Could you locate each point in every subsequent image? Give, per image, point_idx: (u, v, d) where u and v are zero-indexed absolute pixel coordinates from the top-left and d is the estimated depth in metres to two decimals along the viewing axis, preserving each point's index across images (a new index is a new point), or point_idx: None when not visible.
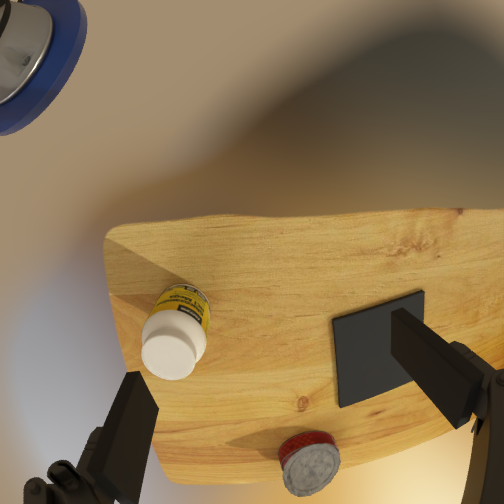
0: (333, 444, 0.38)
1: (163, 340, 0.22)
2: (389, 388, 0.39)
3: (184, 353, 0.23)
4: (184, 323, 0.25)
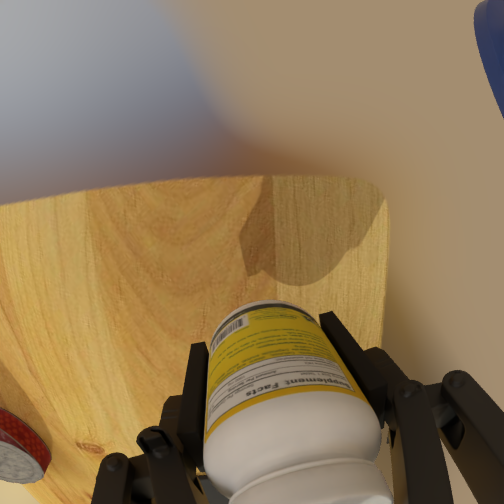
0: (43, 475, 0.19)
1: None
2: None
3: None
4: None
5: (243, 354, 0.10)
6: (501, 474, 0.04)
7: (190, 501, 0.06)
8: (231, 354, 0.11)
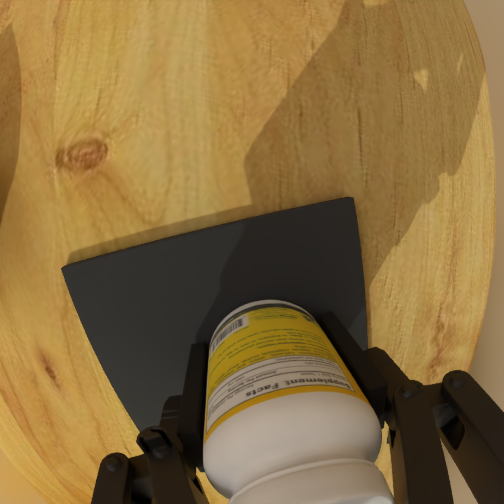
0: None
1: None
2: (121, 391, 0.16)
3: None
4: None
5: (243, 354, 0.10)
6: (501, 474, 0.04)
7: (190, 501, 0.06)
8: (231, 354, 0.11)
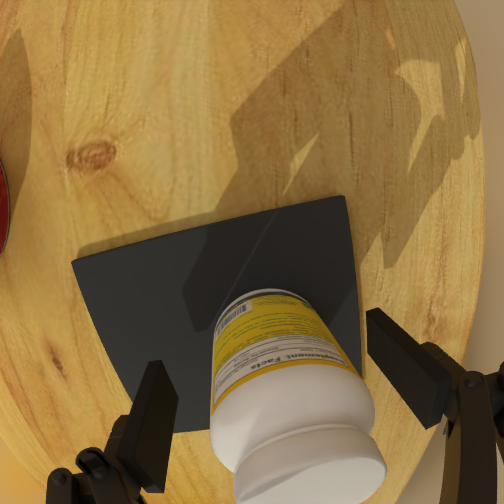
0: None
1: (371, 485, 0.06)
2: (126, 380, 0.17)
3: None
4: None
5: (248, 334, 0.11)
6: None
7: None
8: (236, 335, 0.12)
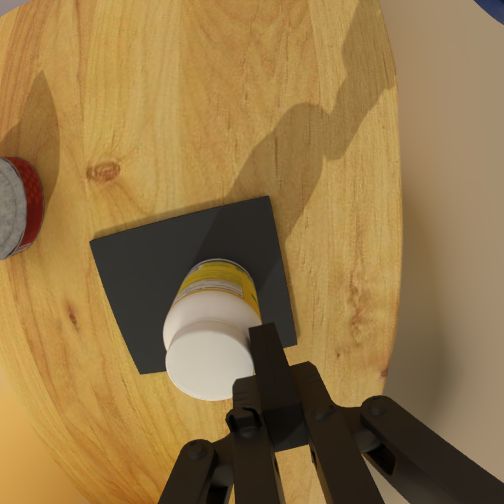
0: (21, 243, 0.20)
1: (245, 367, 0.14)
2: (123, 327, 0.25)
3: (222, 391, 0.15)
4: None
5: (192, 280, 0.20)
6: (447, 498, 0.04)
7: (271, 486, 0.06)
8: (187, 281, 0.20)
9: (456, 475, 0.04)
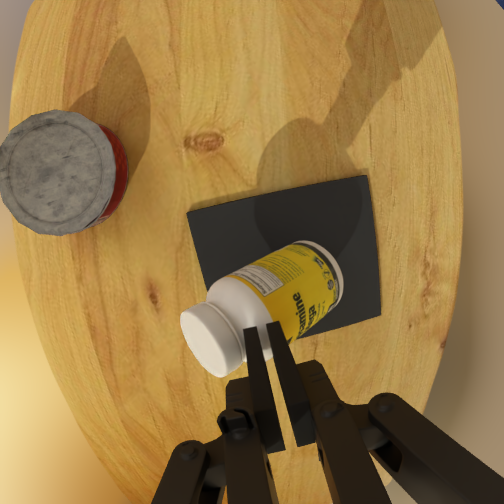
0: (103, 213, 0.22)
1: (219, 359, 0.16)
2: None
3: (211, 367, 0.17)
4: None
5: (255, 261, 0.21)
6: (453, 496, 0.04)
7: (263, 487, 0.06)
8: None
9: (461, 472, 0.04)
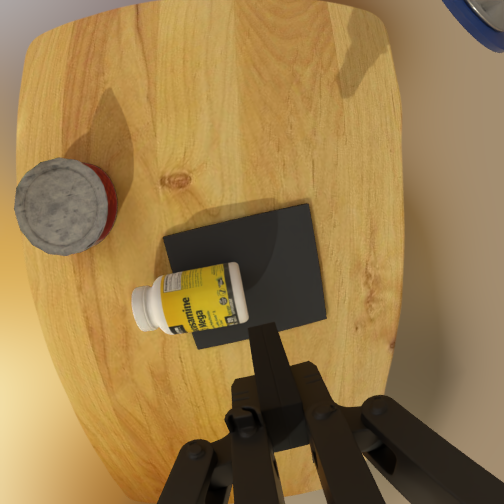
0: (99, 238, 0.28)
1: None
2: None
3: None
4: (162, 329, 0.28)
5: None
6: (448, 498, 0.04)
7: (270, 486, 0.06)
8: None
9: (457, 475, 0.04)
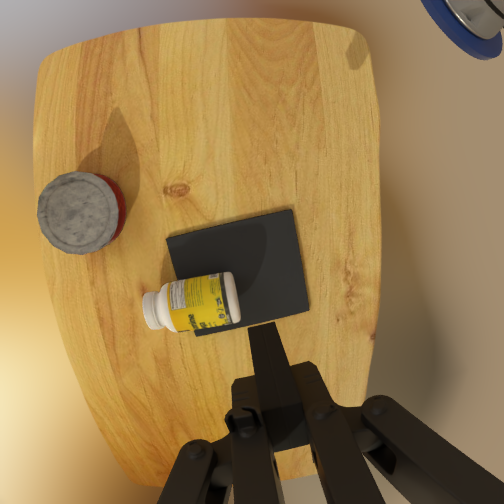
0: (110, 239, 0.33)
1: None
2: None
3: None
4: None
5: (191, 280, 0.34)
6: (448, 498, 0.04)
7: (270, 486, 0.06)
8: (195, 278, 0.34)
9: (457, 475, 0.04)
